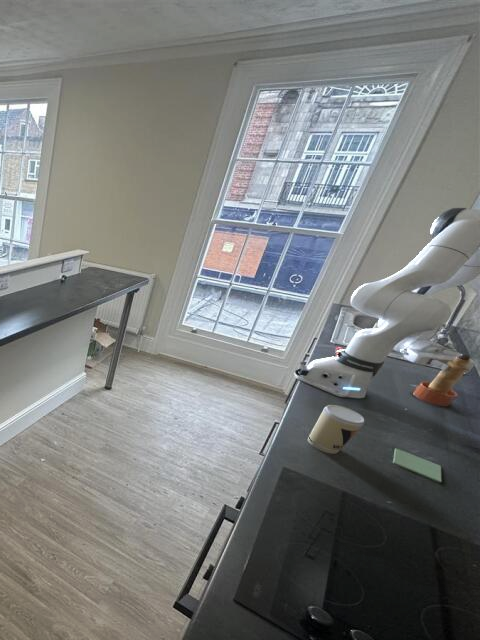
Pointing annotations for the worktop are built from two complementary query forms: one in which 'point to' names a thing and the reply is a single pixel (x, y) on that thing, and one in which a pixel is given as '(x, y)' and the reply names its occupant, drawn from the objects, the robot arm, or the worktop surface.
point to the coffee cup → (335, 428)
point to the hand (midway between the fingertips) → (457, 369)
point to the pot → (434, 395)
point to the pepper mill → (450, 374)
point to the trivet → (417, 465)
